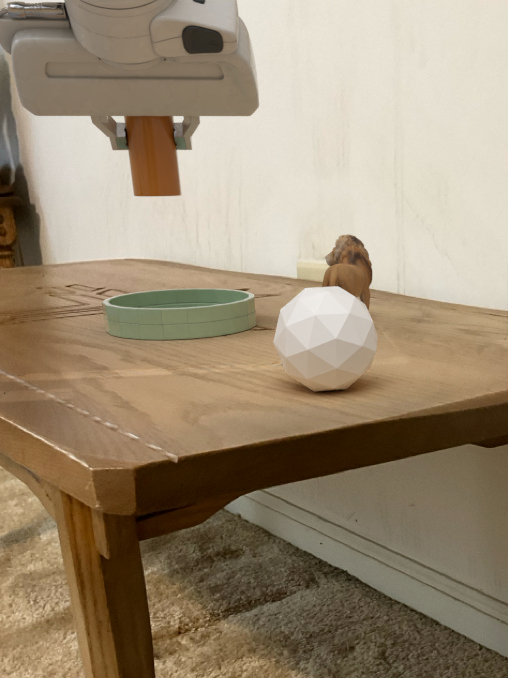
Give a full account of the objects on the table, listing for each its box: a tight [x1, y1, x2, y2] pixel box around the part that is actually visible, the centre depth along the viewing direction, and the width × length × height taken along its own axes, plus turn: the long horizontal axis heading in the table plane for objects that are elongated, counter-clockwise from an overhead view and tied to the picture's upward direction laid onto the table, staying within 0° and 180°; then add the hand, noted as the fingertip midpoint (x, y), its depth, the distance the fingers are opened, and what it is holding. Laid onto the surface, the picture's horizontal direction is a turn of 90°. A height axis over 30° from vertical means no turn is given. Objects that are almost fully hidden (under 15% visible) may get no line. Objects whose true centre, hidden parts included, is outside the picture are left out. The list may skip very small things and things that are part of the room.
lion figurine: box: [321, 234, 373, 311], centre depth 89 cm, size 15×5×9 cm, turn 0°
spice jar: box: [123, 116, 182, 197], centre depth 79 cm, size 4×4×9 cm
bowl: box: [101, 287, 257, 341], centre depth 88 cm, size 15×15×4 cm
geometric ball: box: [272, 286, 379, 393], centre depth 64 cm, size 8×8×8 cm
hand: (153, 145), depth 80 cm, fingers closed on spice jar, 4 cm apart
